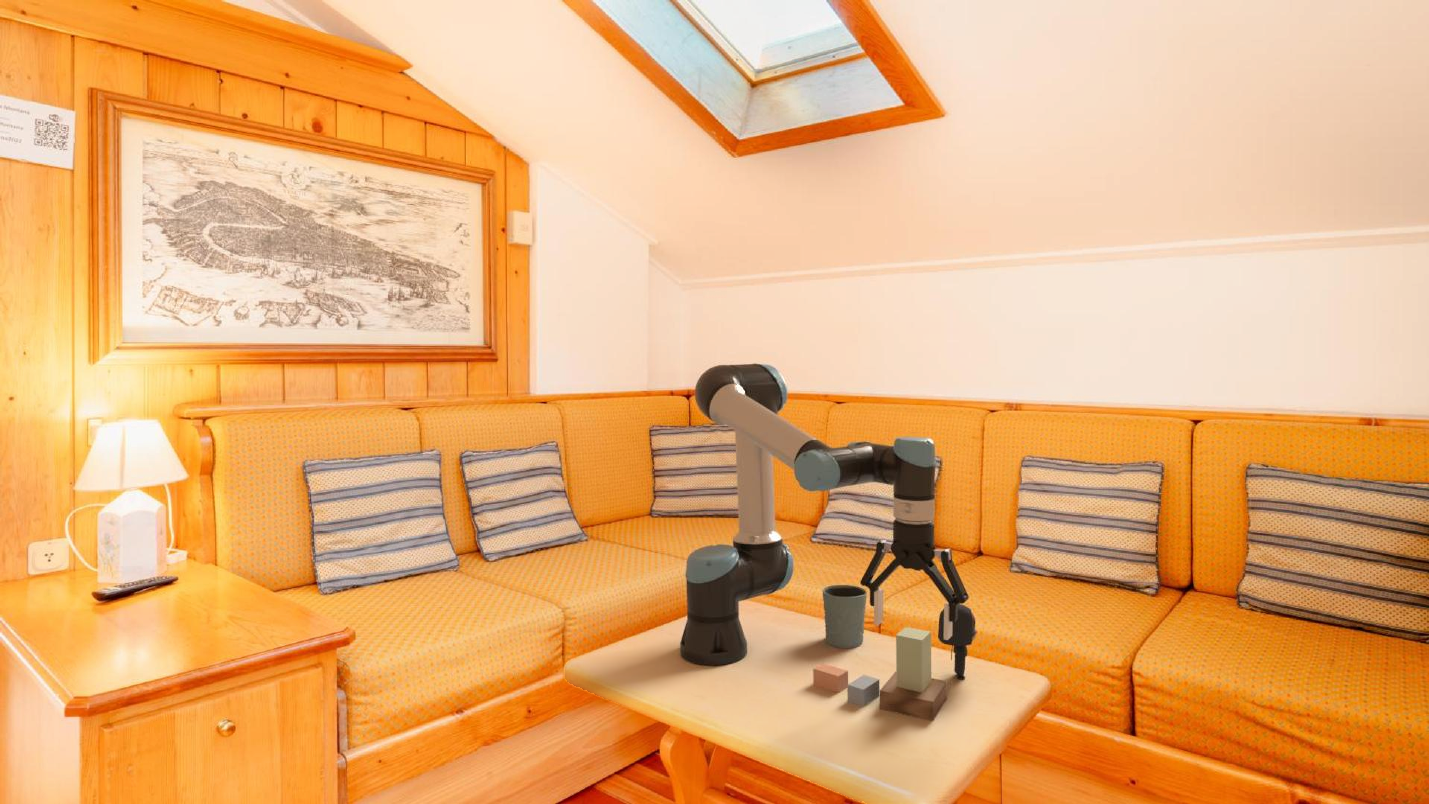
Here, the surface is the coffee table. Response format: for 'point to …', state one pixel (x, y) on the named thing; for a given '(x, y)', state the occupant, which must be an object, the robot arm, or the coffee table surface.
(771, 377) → the robot arm
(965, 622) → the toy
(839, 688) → the brick terracotta
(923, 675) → the brick sage
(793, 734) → the coffee table surface
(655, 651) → the coffee table surface
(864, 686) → the brick slate
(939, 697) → the brick walnut
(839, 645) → the grey green cup
